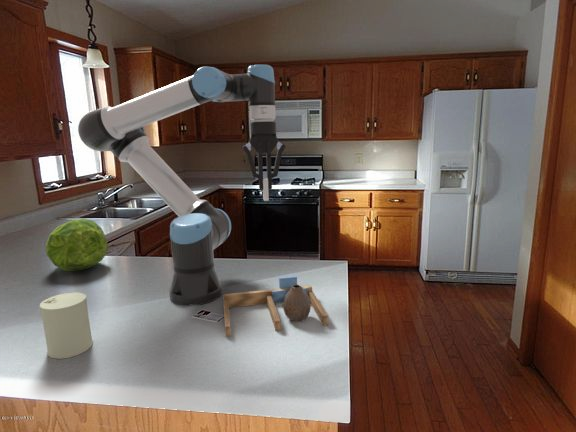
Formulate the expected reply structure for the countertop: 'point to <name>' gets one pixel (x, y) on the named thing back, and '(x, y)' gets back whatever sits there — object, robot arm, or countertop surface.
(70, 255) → the lettuce
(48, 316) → the can
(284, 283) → the tab
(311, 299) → the rack
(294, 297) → the vase
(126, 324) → the countertop surface
